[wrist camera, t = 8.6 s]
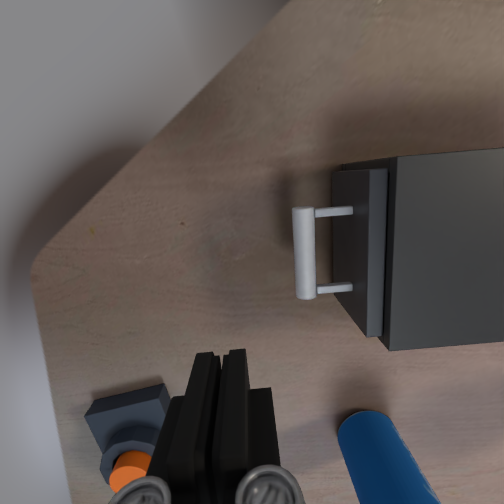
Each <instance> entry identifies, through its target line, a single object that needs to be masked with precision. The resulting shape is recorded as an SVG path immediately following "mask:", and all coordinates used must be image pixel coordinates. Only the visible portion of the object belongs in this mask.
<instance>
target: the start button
mask: <svg viewBox="0 0 504 504" xmlns="http://www.w3.org/2000/svg"><path fill="white" fill-rule="evenodd" d="M151 458H152V457H151V456H150V455H148V454H147V453H145V452H141V451H136V450H131V451H127V452H125V453H123V454H122V455H120V457H119V458H118V460H117V462H116V464H115V466H114V468H113V471H112V473H111V475H110V478H109V483H110V486H111V488H112V490H113V491H114V492H115V493H117V492H118V491H119V490H120V489H121V488H122V487H123V486H125V485H126V484H128V483H129V482H131V481H132V480H135V479H138V478H140V477H143V476H145V475H146V473H147V470H148V467H149V464H150V461H151Z"/></svg>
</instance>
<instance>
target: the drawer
mask: <svg viewBox="0 0 504 504" xmlns="http://www.w3.org/2000/svg"><path fill="white" fill-rule="evenodd" d="M332 193H333V207H327V208H315V209H314V207H313V206H299V207H294V208H292V220H293V241H294V263H295V285H296V296H297V298H299V299H304V300H309V299H313V298H315V297H316V295H317V294H321V293H333V292H334V296H335V297H336V298H337V299H338V301H339V302H340V303H341V305H342V306H343V307H344V309H345V310H346V311H347V313H348V314H349V315H350V317H351V318H352V319H353V320H354V322H355V323H356V324H357V326H358V327H359V328H360V330H361V331H362V332H363V334H364V335H365V336H366V337H377V336H382V334H383V306H384V307H385V287H386V259H387V232H388V205H389V177H388V168H378V169H364V170H349V171H336V172H332ZM327 216H333V282H334V283H328V284H316V256H315V219H314V217H327ZM316 292H317V293H316Z"/></svg>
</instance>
